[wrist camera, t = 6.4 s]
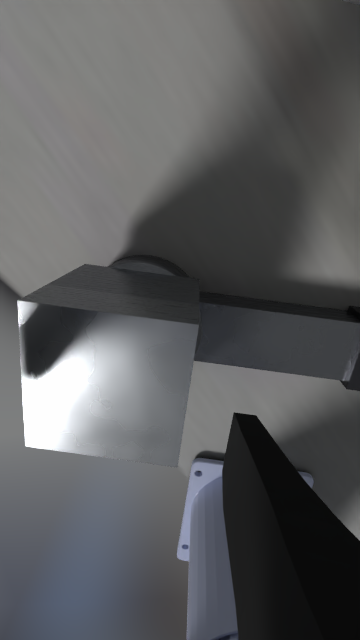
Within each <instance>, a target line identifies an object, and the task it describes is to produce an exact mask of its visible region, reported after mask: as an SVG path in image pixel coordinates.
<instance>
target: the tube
mask: <svg viewBox="0 0 360 640" xmlns="http://www.w3.org/2000/svg"><path fill="white" fill-rule="evenodd" d="M343 1H346V2H350V3H354V4H357V5H360V0H343Z"/></svg>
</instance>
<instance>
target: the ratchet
mask: <svg viewBox="0 0 360 640" xmlns="http://www.w3.org/2000/svg"><path fill="white" fill-rule="evenodd" d="M109 267H112V268H119V269H127V270H134V271H142V272H149V273H157V274H165V275H172V276H180V277H187V278H189V277H188V275H187V274H186V273H185V272H184V271H183V270H181V269H180V268H179V267H178V266H176V265H175V264H173V263H171V262H169V261H167V260H165V259H162V258H159V257H154V256H147V255H138V256H131V257H127V258H124V259H121V260H119V261H117V262H115V263H113V264H112V265H110V266H109ZM194 361H201V362H208V363H216V364H223V365H231V366H238V367H245V368H253V369H260V370H268V371H275V372H283V373H290V374H297V375H305V376H312V377H320V378H327V379H335V380H340V381H341V383H342V384H343V385H344V387H345V388H346V389H350V390H357V391H360V307H354V306H349V309H348V311H343V310H335V309H328V308H320V307H313V306H305V305H297V304H290V303H282V302H275V301H267V300H259V299H252V298H244V297H237V296H229V295H221V294H214V293H206V292H199V328H198V335H197V341H196V348H195V354H194Z"/></svg>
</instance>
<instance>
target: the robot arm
mask: <svg viewBox="0 0 360 640" xmlns="http://www.w3.org/2000/svg"><path fill="white" fill-rule="evenodd" d="M196 471H201V472H196ZM313 484H314V480H313V477H312V475H311V474H309V473H306V472H299V471H297V470H296V469H295V467H294V466H293V465H292V464H291V462H290V461H289V460H288V458H287V457H286V456H285V454H284V453H283V452H282V450H281V449H280V448H279V446H278V445H277V444H276V442H275V441H274V440H273V438H272V437H271V435H270V434H269V433H268V431H267V430H266V428H265V427H264V426H263V424H262V423H261V422H260V420H259V419H258V418H257V416H256V415H248V414H241V413H234V415H233V420H232V424H231V429H230V434H229V439H228V444H227V449H226V454H225V459H224V461H219V460H212V459H205V458H196V459H194V460H193V462H192V466H191V472H190V478H189V484H188V490H187V496H186V502H185V508H184V513H183V519H182V525H181V531H180V537H179V543H178V549H177V557H178V558H179V559H180V560H184V561H189V581H188V615H187V640H360V541H359V540H358V539H357V538H356V537H355V536H354V535H353V534H352V533H351V532H350V531H349V530H348V529H347V528H346V527H345V526H344V524H343V523H342V522H341V521H340V520H339V519H338V518H337V517H336V516H335V515H334V514H333V513H332V511H331V510H330V509H329V508H328V507H327V506H326V505H325V503H324V502H323V501H322V500H321V499H320V498H319V497H318V495H317V494H316V493H315V492H314V491H313V490H312V487H313Z"/></svg>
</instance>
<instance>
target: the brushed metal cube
mask: <svg viewBox="0 0 360 640" xmlns="http://www.w3.org/2000/svg"><path fill="white" fill-rule="evenodd" d="M17 302H18V319H19V336H20V337H19V338H20V355H21V374H22V390H23V410H24V428H25V446H27V447H34V448H41V449H49V450H56V451H63V452H70V453H78V454H85V455H92V456H98V457H105V458H113V459H120V460H127V461H135V462H141V463H148V464H156V465H163V466H170V467H178V460H179V453H180V447H181V440H182V434H183V427H184V420H185V414H186V407H187V401H188V394H189V387H190V381H191V374H192V368H193V361H194V354H195V348H196V341H197V335H198V328H199V279H195V278H187V277H180V276H172V275H165V274H157V273H149V272H142V271H134V270H127V269H119V268H112V267H104V266H97V265H89V264H84V265H82V266H80V267H79V268H77V269H75V270H73V271H71V272H69V273H67V274H66V275H64V276H62V277H60V278H58V279H56V280H55V281H53V282H51V283H49V284H47V285H45V286H43V287H42V288H40V289H38V290H36V291H34V292H32V293H31V294H29V295H27V296H25V297H23V298H21V299H19V300H18V301H17Z"/></svg>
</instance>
